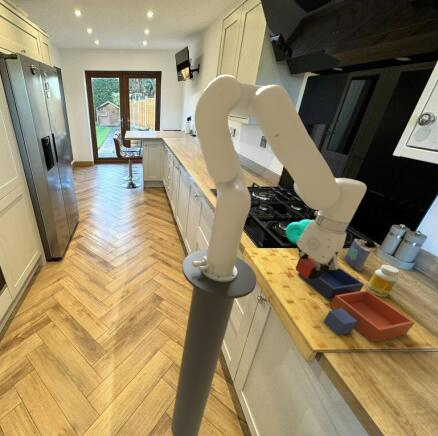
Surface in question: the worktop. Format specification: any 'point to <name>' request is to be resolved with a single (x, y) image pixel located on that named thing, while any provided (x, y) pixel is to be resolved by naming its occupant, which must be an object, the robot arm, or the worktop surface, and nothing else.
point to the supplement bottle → (383, 280)
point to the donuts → (296, 230)
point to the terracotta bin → (372, 315)
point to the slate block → (340, 321)
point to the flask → (357, 254)
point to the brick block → (306, 266)
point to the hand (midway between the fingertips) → (306, 272)
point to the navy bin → (334, 283)
